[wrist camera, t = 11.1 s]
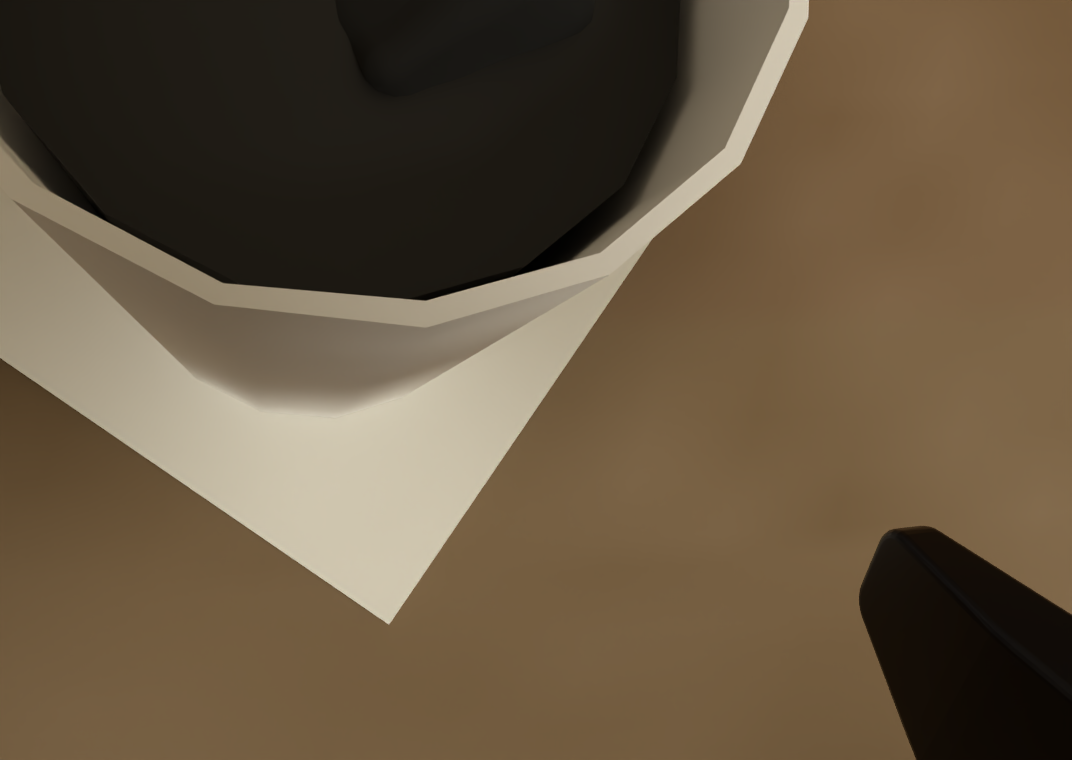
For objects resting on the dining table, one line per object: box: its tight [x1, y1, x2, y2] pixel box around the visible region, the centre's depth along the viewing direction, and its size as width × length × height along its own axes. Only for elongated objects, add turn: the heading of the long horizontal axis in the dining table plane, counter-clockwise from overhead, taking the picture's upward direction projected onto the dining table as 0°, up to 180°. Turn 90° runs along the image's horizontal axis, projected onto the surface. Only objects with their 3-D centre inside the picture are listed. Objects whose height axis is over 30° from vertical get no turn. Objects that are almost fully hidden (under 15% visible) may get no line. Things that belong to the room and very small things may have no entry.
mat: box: [0, 187, 653, 624], centre depth 17 cm, size 9×9×1 cm
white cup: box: [0, 0, 809, 418], centre depth 12 cm, size 7×7×10 cm
